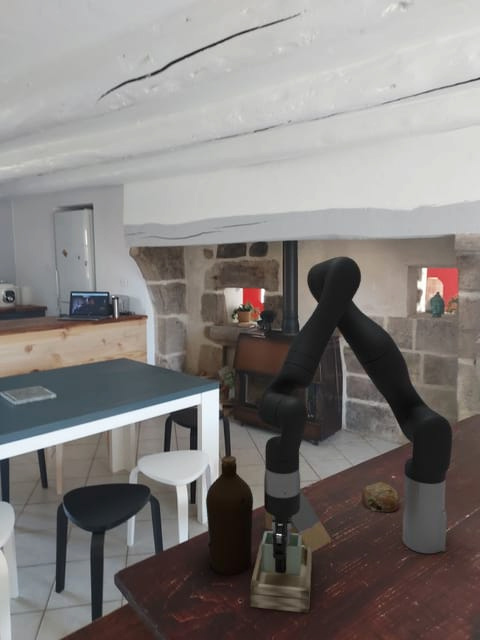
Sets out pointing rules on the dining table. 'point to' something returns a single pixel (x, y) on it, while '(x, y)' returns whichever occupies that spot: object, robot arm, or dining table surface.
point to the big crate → (282, 586)
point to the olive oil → (229, 520)
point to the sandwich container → (305, 525)
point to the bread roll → (380, 497)
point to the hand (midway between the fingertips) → (282, 562)
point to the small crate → (291, 559)
